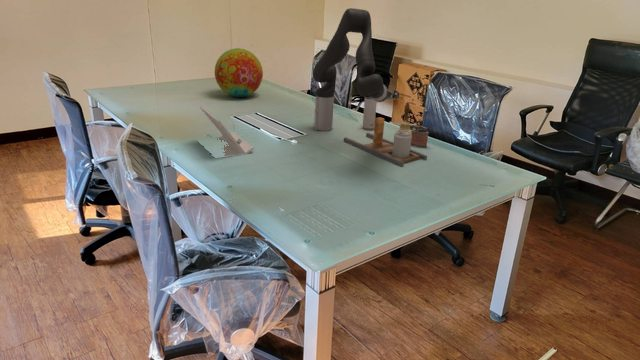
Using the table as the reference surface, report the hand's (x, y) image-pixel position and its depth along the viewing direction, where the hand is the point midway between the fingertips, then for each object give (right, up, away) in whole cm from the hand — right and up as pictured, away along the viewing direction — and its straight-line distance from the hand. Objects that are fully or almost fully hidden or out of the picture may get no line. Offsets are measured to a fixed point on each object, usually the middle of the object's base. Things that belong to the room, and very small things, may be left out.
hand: (384, 97), depth 208 cm
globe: (-81, +16, +88) cm, 121 cm away
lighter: (+17, -22, +10) cm, 29 cm away
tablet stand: (-72, -23, -1) cm, 76 cm away
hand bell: (+14, -13, +29) cm, 35 cm away
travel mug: (-4, -11, +33) cm, 35 cm away
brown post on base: (+3, -25, -1) cm, 26 cm away
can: (+6, -28, -5) cm, 29 cm away
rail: (0, -24, +3) cm, 24 cm away
